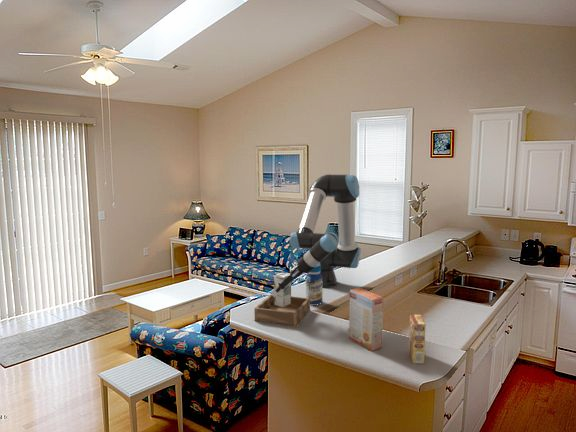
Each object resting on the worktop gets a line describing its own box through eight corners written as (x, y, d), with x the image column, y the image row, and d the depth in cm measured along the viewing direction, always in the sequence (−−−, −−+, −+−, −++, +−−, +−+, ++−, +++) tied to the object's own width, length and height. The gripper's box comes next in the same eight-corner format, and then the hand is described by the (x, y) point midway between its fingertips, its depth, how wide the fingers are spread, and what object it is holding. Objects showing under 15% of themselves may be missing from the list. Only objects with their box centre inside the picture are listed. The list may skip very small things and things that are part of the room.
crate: (271, 305, 210) (271, 293, 209) (310, 310, 203) (310, 298, 202) (254, 320, 192) (254, 308, 191) (296, 327, 185) (296, 314, 184)
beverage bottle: (320, 299, 218) (320, 261, 214) (324, 305, 210) (324, 266, 206) (304, 300, 216) (303, 262, 213) (308, 306, 208) (307, 267, 205)
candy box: (424, 364, 153) (426, 324, 150) (412, 363, 153) (414, 323, 151) (419, 352, 161) (421, 314, 159) (408, 352, 162) (409, 314, 159)
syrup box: (281, 301, 200) (281, 271, 198) (291, 304, 197) (291, 274, 194) (274, 304, 196) (273, 274, 194) (283, 307, 192) (283, 277, 190)
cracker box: (382, 348, 165) (384, 296, 162) (370, 351, 162) (372, 299, 159) (359, 334, 177) (360, 286, 174) (348, 337, 174) (349, 289, 171)
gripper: (307, 273, 179) (272, 305, 187) (320, 262, 197) (288, 291, 205) (295, 260, 180) (261, 293, 188) (309, 250, 198) (278, 280, 206)
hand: (275, 292), depth 197 cm, fingers closed on syrup box, 7 cm apart
